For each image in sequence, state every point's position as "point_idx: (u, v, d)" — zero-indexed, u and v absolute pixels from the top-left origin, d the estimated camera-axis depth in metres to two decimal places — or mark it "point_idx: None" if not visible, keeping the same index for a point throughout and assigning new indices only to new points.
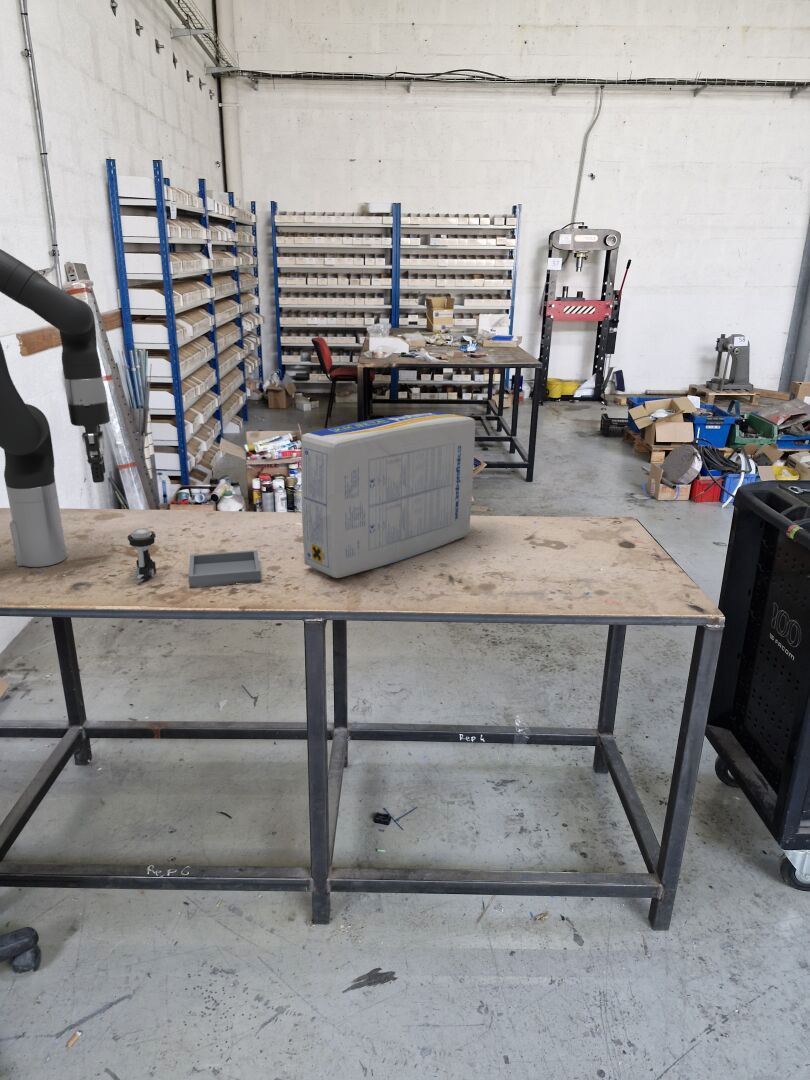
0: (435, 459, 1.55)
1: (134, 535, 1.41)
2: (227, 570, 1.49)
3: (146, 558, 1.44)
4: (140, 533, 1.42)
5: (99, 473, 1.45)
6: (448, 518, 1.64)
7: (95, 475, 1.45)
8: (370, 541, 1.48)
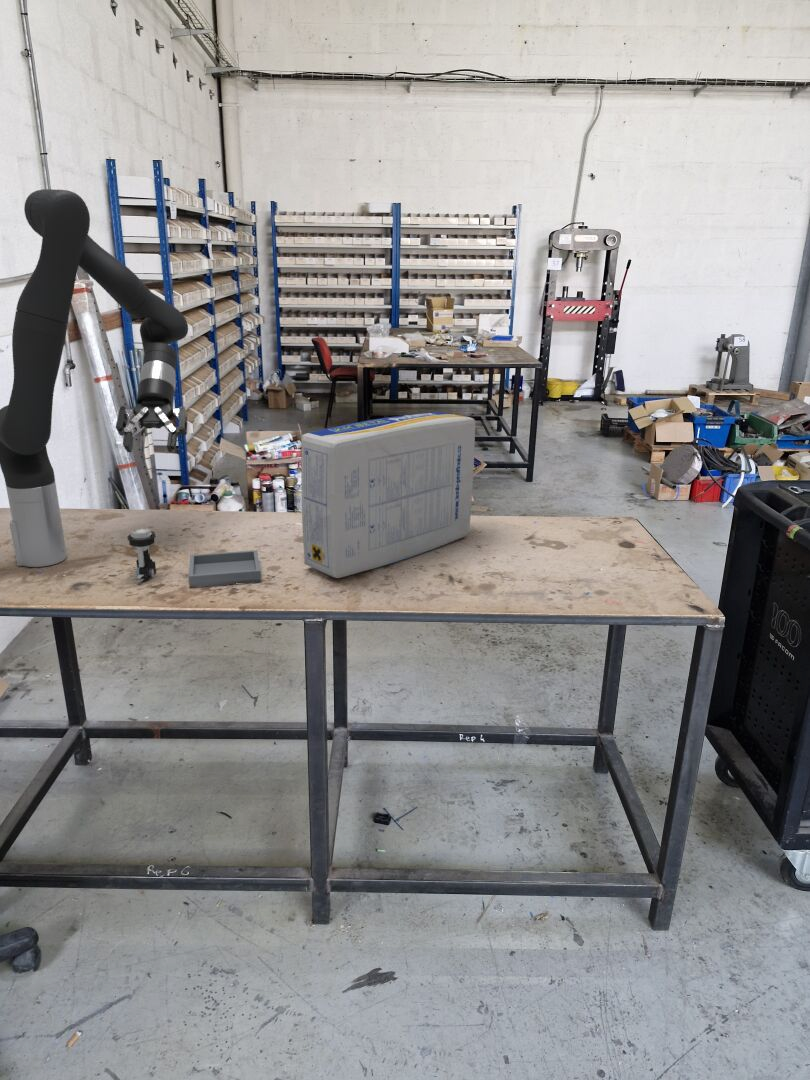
0: (435, 459, 1.55)
1: (134, 535, 1.41)
2: (227, 570, 1.49)
3: (146, 558, 1.44)
4: (140, 533, 1.42)
5: None
6: (448, 518, 1.64)
7: (174, 442, 1.50)
8: (370, 541, 1.48)
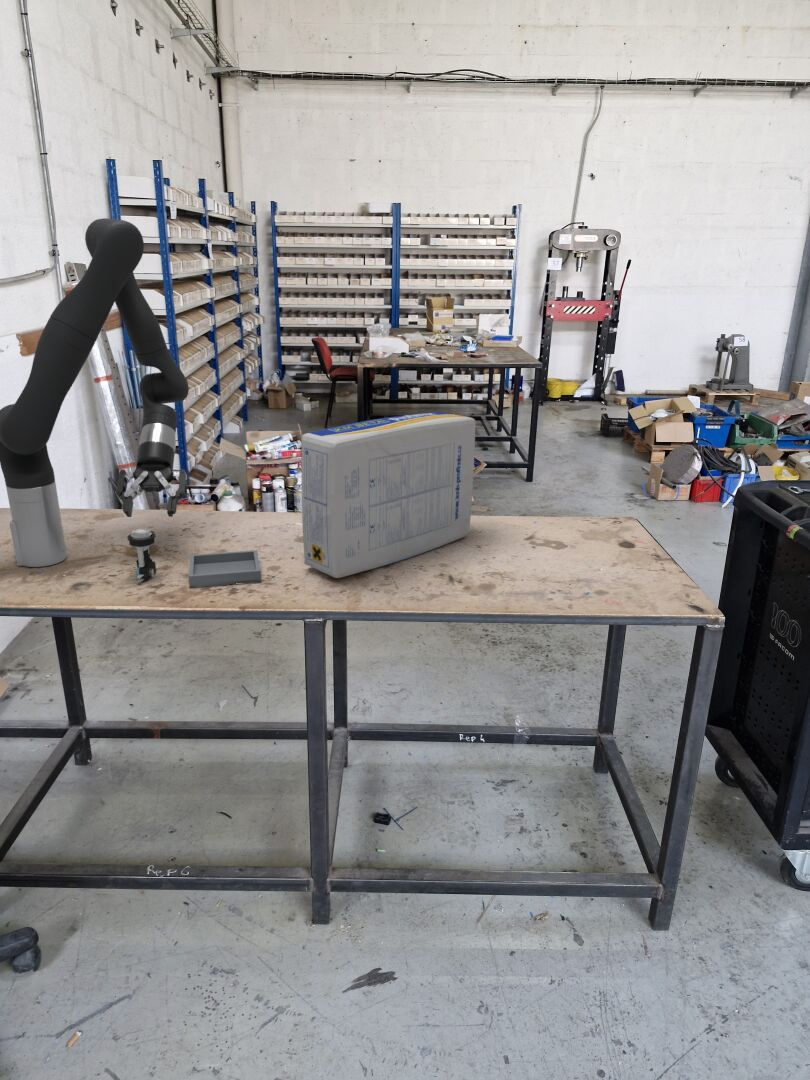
0: (435, 459, 1.55)
1: (134, 535, 1.41)
2: (227, 570, 1.49)
3: (146, 558, 1.44)
4: (140, 533, 1.42)
5: (176, 507, 1.50)
6: (448, 518, 1.64)
7: (175, 507, 1.49)
8: (371, 541, 1.48)
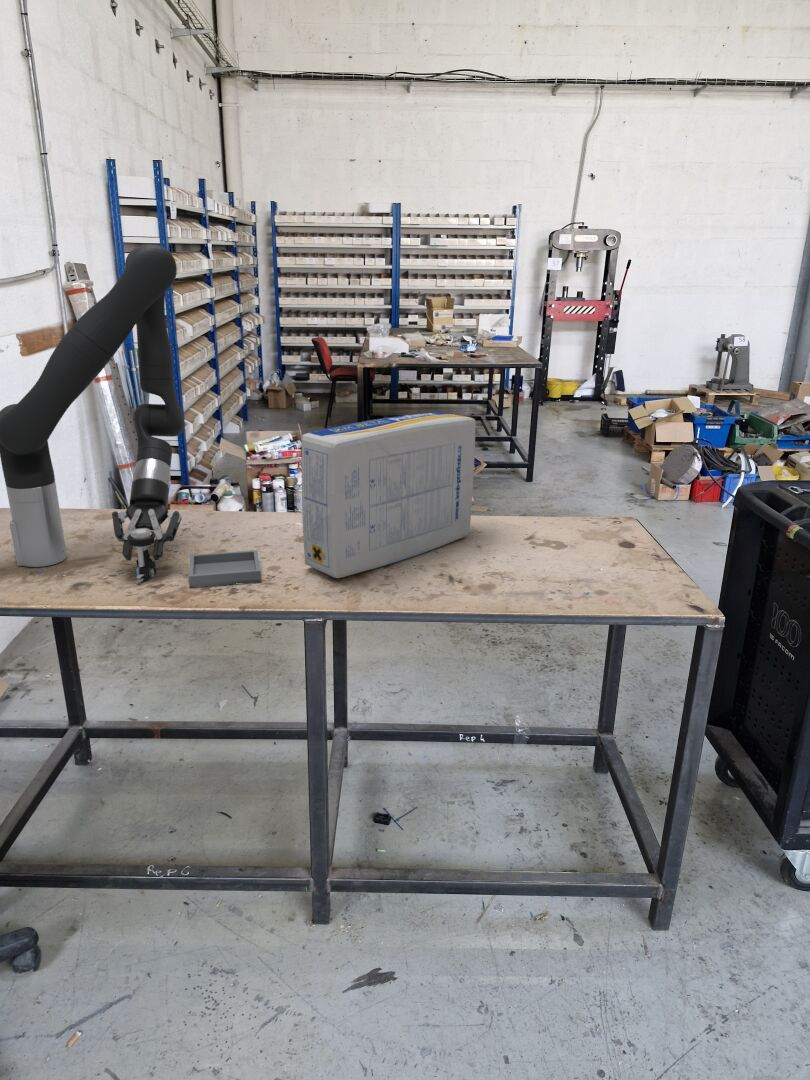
0: (435, 459, 1.55)
1: (134, 535, 1.41)
2: (227, 570, 1.49)
3: (146, 558, 1.44)
4: (140, 533, 1.42)
5: (162, 550, 1.45)
6: (448, 518, 1.64)
7: (161, 550, 1.44)
8: (371, 541, 1.48)
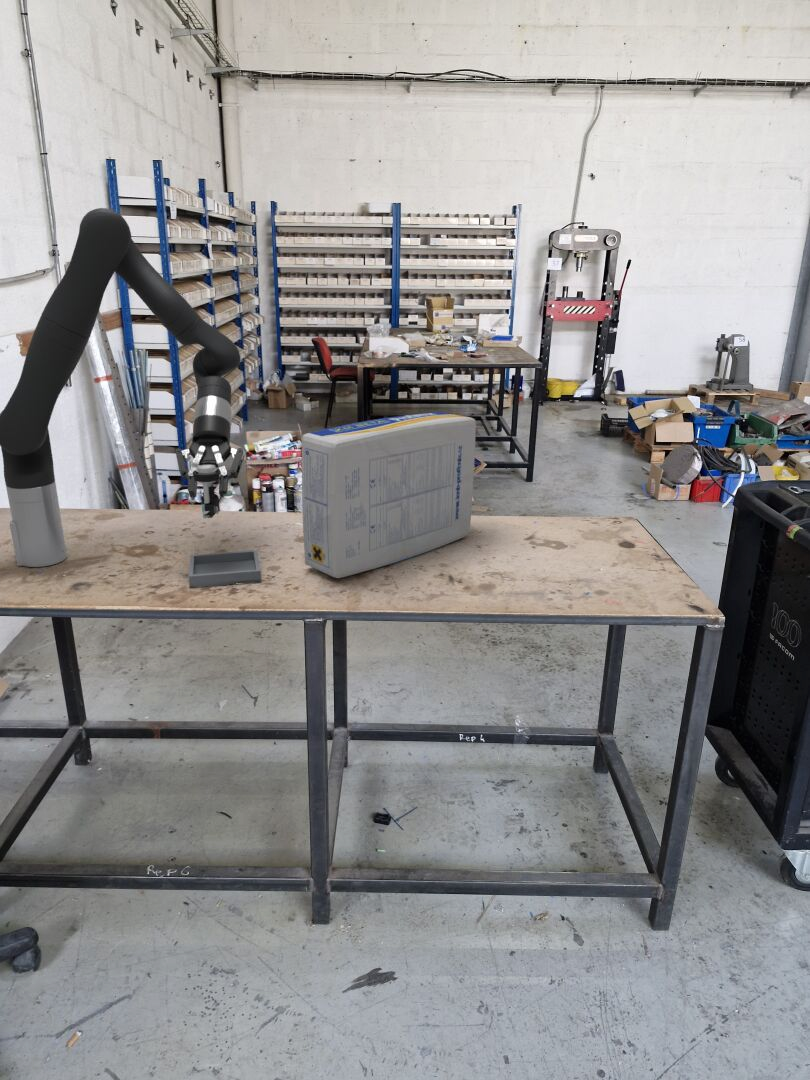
0: (435, 459, 1.55)
1: (200, 470, 1.40)
2: (227, 570, 1.49)
3: (211, 494, 1.42)
4: (206, 468, 1.40)
5: (227, 487, 1.43)
6: (449, 518, 1.64)
7: (226, 486, 1.42)
8: (371, 541, 1.48)
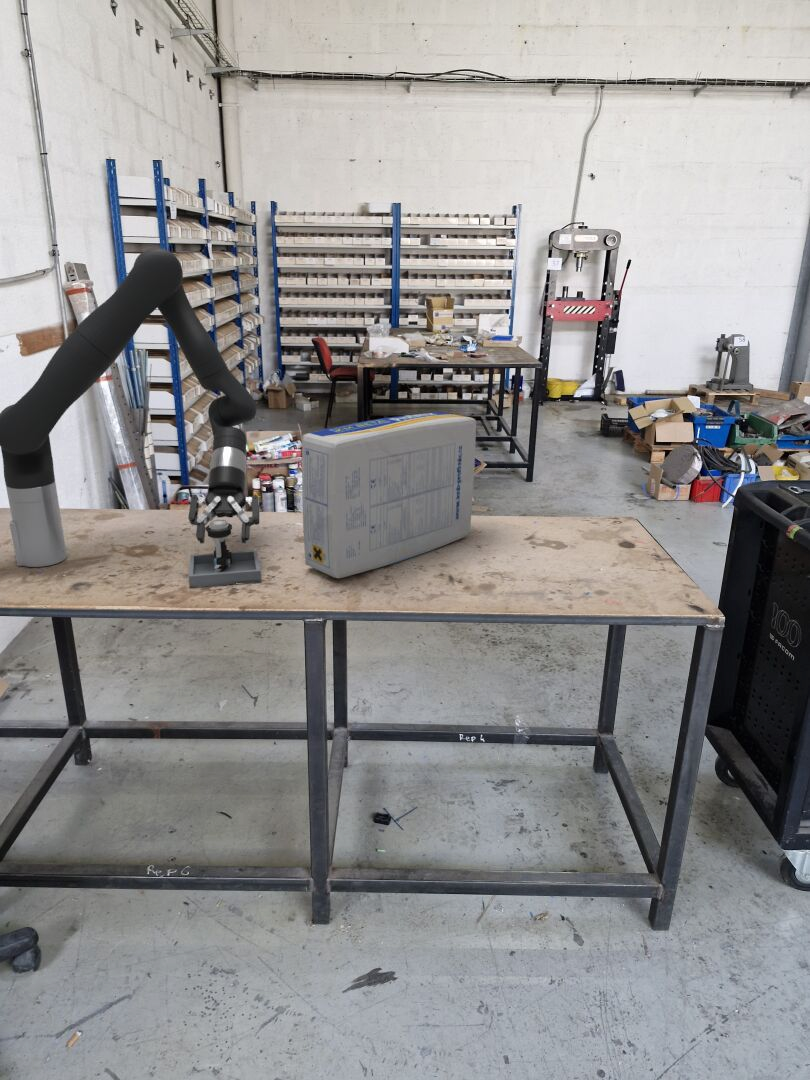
0: (436, 459, 1.55)
1: (212, 526, 1.45)
2: (227, 570, 1.49)
3: (223, 549, 1.47)
4: (218, 524, 1.45)
5: (249, 533, 1.47)
6: (449, 518, 1.64)
7: (248, 533, 1.46)
8: (371, 541, 1.48)
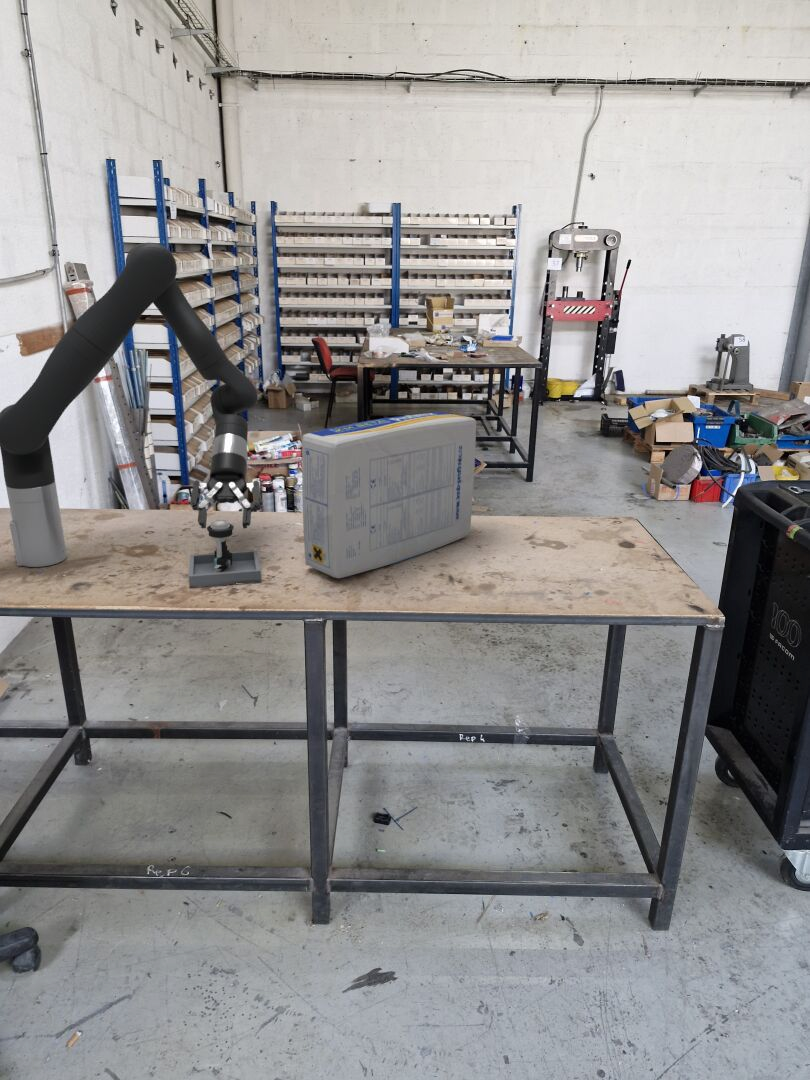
0: (436, 459, 1.55)
1: (213, 526, 1.45)
2: (227, 570, 1.49)
3: (224, 549, 1.48)
4: (219, 524, 1.45)
5: (250, 519, 1.49)
6: (449, 518, 1.64)
7: (249, 518, 1.48)
8: (371, 541, 1.48)
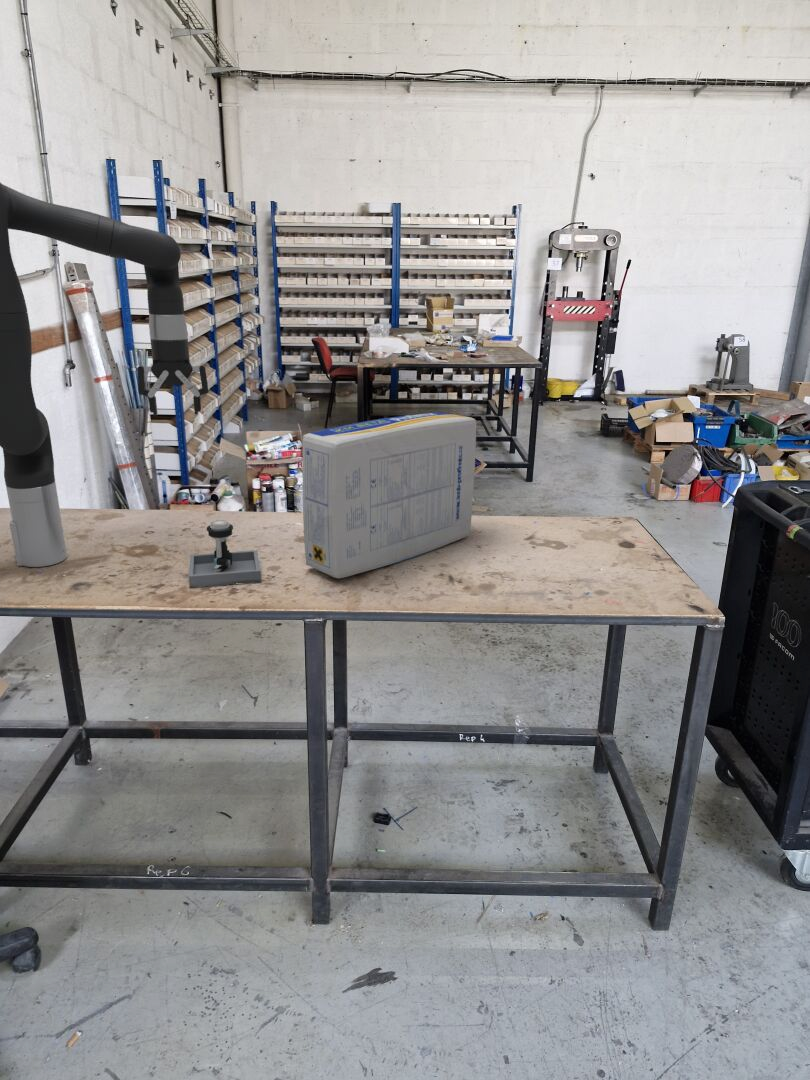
0: (436, 459, 1.55)
1: (213, 526, 1.45)
2: (227, 570, 1.49)
3: (223, 549, 1.48)
4: (219, 524, 1.45)
5: None
6: (449, 518, 1.64)
7: None
8: (372, 541, 1.48)
